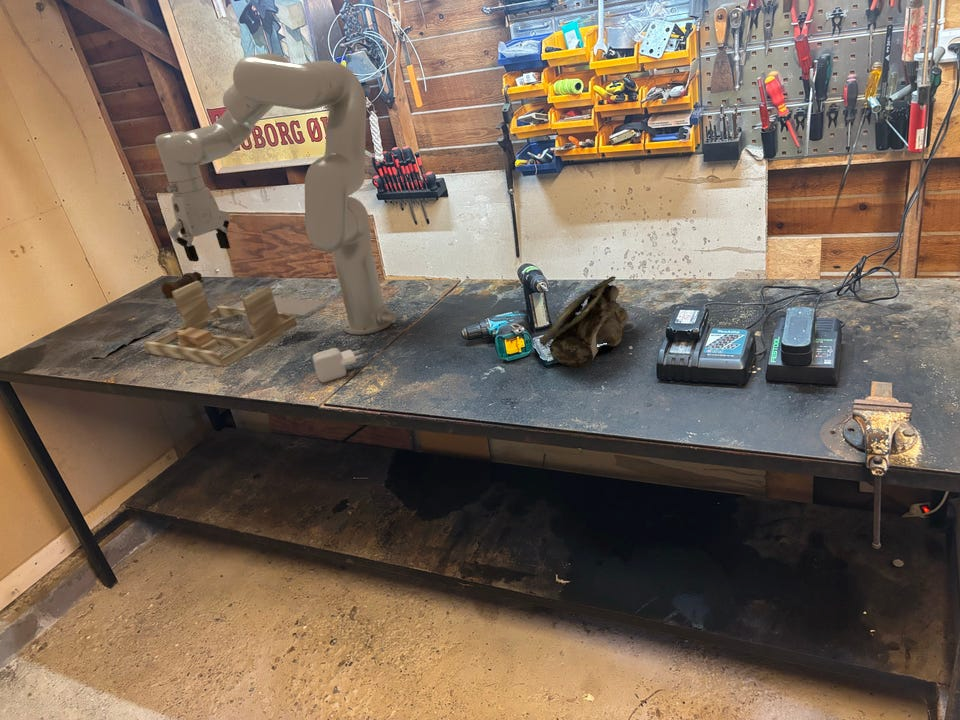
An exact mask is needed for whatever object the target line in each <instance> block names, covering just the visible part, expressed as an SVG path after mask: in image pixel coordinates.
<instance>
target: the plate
mask: <svg viewBox="0 0 960 720" xmlns="http://www.w3.org/2000/svg"><path fill="white" fill-rule="evenodd" d="M273 298H274V301H275V305H276V308H277V311H278V312H284V313H291V315H292V317H295V319H307V318H308V317H309V316H312V315H313V314H314V313H316V312H318V311H320V310H322V309H323V308H325V307H326V306H327V302H326V301H320V300H319V301H318V300H311V299H310V300H308V299H307V300H306V299H297V298H287V297H276V296H275V297H274V296H273ZM230 307H236V308H245V307H244V304H243V301H242V300H241V301H238V302H237V303H235V304H233V305H231V306H230Z"/></svg>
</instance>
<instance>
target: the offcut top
mask: <svg viewBox="0 0 960 720" xmlns="http://www.w3.org/2000/svg"><path fill="white" fill-rule="evenodd" d="M211 334H212V333H211V331H210V330H206V329H203V328H201V329H196V328H191V327H190V328H188V329H186V330H184V331H182V332H180V333H177V336H178V338H177V340H178V342H180V343H182V344H187V345H192V346H196V347H201V346H203V345H205V344H207V343H209V342H211V341H213V338H212V336H211Z"/></svg>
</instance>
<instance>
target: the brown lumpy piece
mask: <svg viewBox="0 0 960 720" xmlns="http://www.w3.org/2000/svg"><path fill="white" fill-rule="evenodd" d="M202 279H203V276H202V273H200V272H198V271H194V272H187V273H184V274H182V278H180V279H178V280H176V281H165V282H163V283H162V284H161V291H162V294H163V295H164V297H166V298H168V299H174V297H173V294H172V291H175V290H177V289H179V288H181V287H184V286H186V285H188V284H190V283H192V282H195V281H200V282H201V281H202Z"/></svg>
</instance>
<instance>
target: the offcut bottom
mask: <svg viewBox="0 0 960 720" xmlns="http://www.w3.org/2000/svg"><path fill="white" fill-rule="evenodd" d="M219 345H220V344H218V343H217V340H213V341H211V342H209V343H207V344H205V345H203V346H201V347H196V346H192V345H187V344H182V343H180V342H179V341H178V342H177V346H182V347H189V348H195V349H201V350H208V351H214V352H219V350H221V348H220V346H219Z"/></svg>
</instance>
